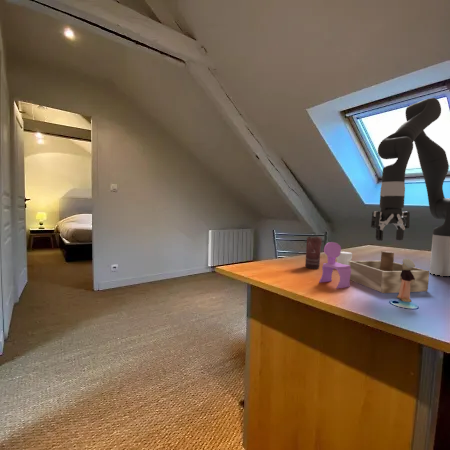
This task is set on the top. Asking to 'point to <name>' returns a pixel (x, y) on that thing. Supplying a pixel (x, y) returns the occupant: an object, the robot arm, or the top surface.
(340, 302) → the top surface
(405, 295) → the grandmother figurine
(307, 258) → the can
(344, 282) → the toy chair
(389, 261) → the peg
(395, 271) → the crate
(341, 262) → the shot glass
